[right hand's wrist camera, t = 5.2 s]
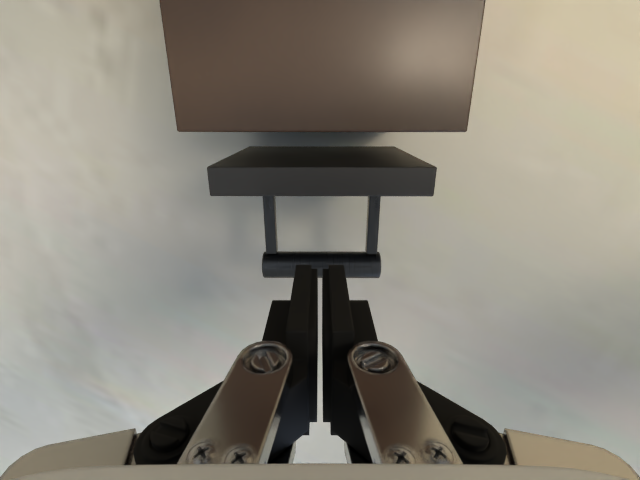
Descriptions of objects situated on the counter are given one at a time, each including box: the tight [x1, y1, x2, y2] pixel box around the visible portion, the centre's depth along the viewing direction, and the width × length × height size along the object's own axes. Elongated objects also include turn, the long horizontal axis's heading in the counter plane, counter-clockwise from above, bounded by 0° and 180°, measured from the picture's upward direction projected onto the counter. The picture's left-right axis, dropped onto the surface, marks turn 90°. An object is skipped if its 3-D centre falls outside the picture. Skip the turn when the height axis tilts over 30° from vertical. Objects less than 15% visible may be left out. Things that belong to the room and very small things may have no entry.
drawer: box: [207, 147, 437, 278], centre depth 16 cm, size 25×9×9 cm, turn 0°
